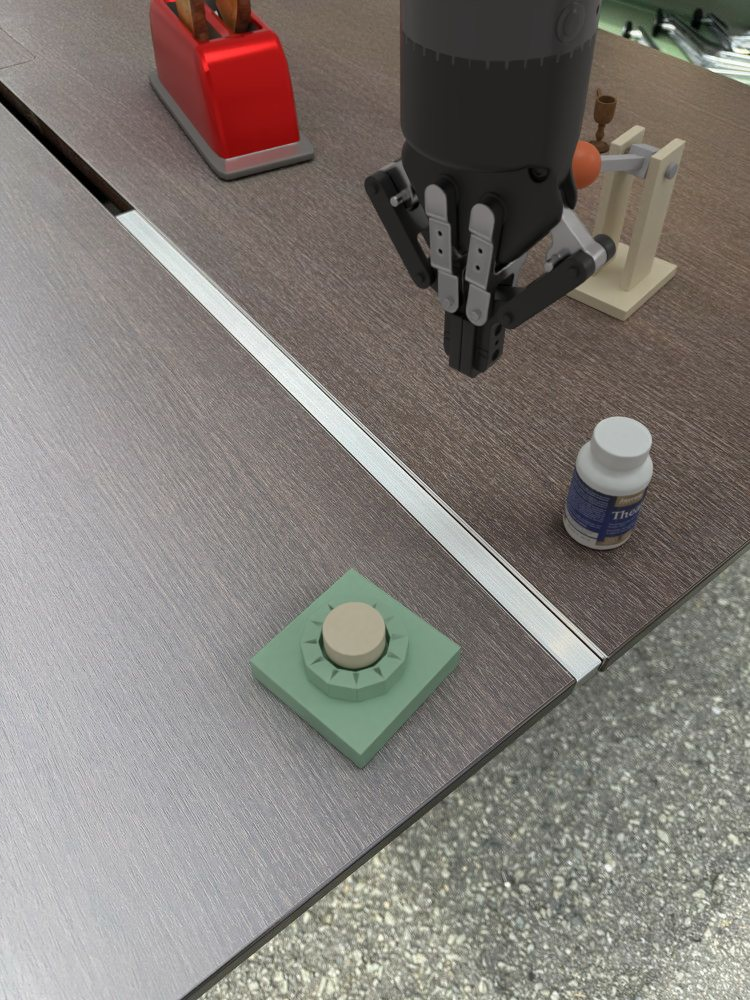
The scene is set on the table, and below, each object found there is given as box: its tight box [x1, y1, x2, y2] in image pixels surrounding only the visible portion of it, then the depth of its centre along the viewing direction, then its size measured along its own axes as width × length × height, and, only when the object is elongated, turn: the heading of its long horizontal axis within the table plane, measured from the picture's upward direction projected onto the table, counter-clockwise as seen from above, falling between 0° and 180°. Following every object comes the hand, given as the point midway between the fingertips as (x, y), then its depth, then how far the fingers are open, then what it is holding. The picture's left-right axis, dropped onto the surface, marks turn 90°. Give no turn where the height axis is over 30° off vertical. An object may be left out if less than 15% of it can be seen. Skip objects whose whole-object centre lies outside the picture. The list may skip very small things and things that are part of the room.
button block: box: [248, 567, 462, 770], centre depth 56 cm, size 10×10×4 cm
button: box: [322, 602, 385, 669], centre depth 54 cm, size 4×4×2 cm
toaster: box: [147, 0, 315, 181], centre depth 104 cm, size 32×13×19 cm, turn 26°
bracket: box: [565, 124, 687, 323], centre depth 80 cm, size 10×8×15 cm
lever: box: [572, 140, 662, 191], centre depth 71 cm, size 16×4×4 cm, turn 138°
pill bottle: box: [562, 415, 654, 550], centre depth 62 cm, size 5×5×10 cm
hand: (471, 365), depth 45 cm, fingers closed
